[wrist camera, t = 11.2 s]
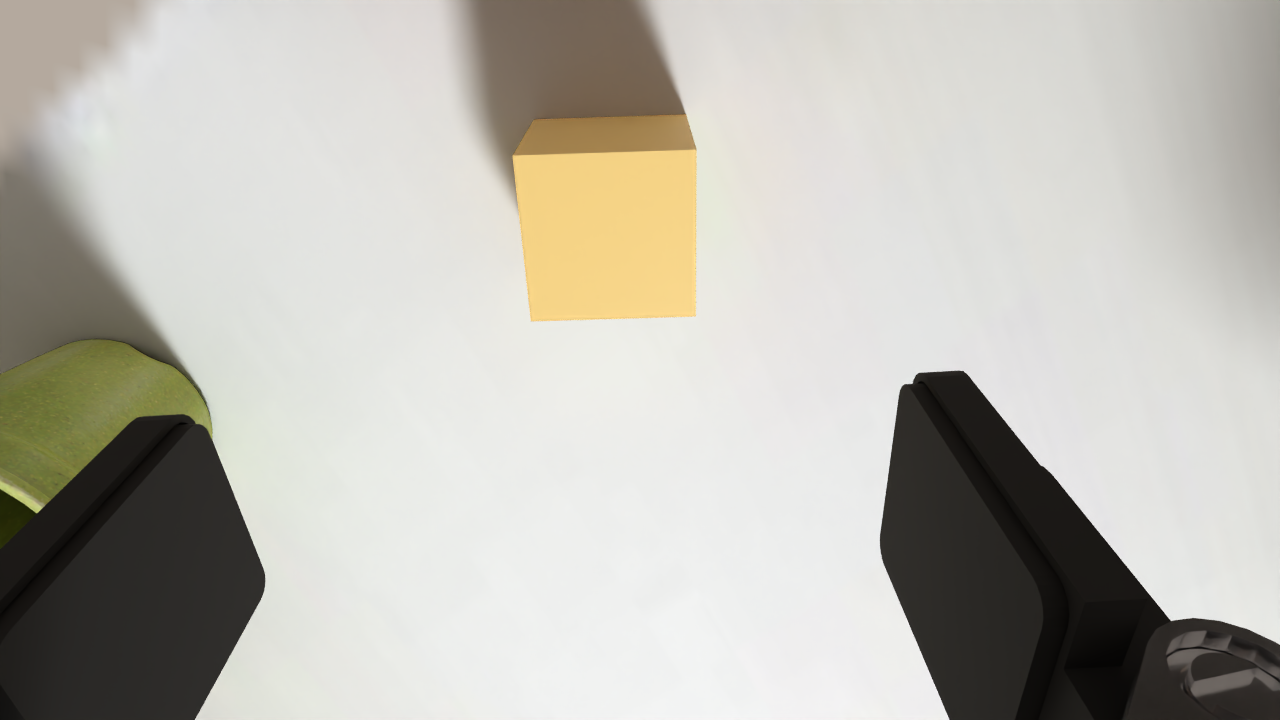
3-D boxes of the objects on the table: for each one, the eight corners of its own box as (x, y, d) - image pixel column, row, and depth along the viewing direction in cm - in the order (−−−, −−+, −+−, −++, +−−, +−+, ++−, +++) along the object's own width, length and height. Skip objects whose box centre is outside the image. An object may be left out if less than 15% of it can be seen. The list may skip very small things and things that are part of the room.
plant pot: (-76, 324, 25) (-382, 484, 18) (177, 261, 24) (-31, 403, 17) (84, 531, 30) (-105, 732, 22) (305, 486, 29) (186, 679, 21)
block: (685, 113, 22) (696, 149, 18) (686, 256, 24) (695, 316, 21) (534, 119, 22) (512, 155, 18) (547, 261, 25) (530, 321, 21)
